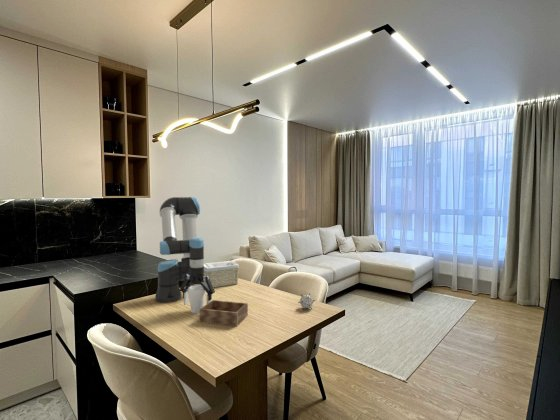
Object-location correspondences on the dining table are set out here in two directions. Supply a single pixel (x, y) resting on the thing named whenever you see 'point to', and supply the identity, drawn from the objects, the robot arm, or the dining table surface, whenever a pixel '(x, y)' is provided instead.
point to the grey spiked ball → (306, 301)
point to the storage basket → (221, 273)
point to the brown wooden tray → (224, 313)
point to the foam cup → (196, 298)
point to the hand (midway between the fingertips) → (197, 305)
